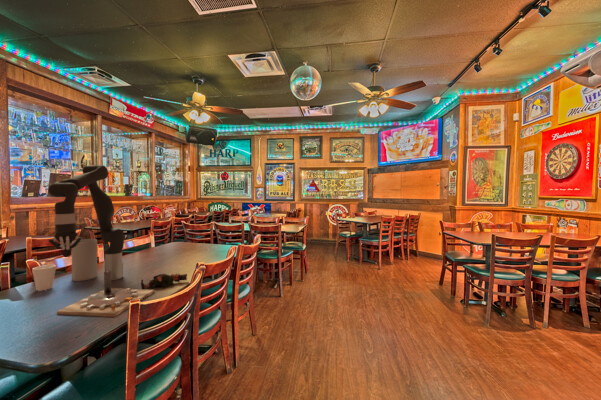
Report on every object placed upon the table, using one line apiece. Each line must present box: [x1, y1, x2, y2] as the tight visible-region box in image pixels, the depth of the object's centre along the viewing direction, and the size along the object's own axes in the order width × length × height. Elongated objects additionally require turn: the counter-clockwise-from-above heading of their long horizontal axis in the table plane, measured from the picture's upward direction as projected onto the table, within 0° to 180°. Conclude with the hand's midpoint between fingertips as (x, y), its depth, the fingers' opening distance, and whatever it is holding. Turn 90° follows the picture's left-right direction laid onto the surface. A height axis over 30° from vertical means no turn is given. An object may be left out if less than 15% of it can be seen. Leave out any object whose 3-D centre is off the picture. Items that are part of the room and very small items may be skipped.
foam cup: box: [31, 264, 57, 292], centre depth 142 cm, size 10×9×13 cm
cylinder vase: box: [71, 238, 98, 282], centre depth 160 cm, size 12×12×25 cm
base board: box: [56, 287, 155, 318], centre depth 126 cm, size 28×28×3 cm
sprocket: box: [80, 271, 138, 310], centre depth 126 cm, size 24×24×12 cm
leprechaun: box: [140, 272, 188, 289], centre depth 151 cm, size 11×10×25 cm
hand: (67, 256), depth 122 cm, fingers closed
